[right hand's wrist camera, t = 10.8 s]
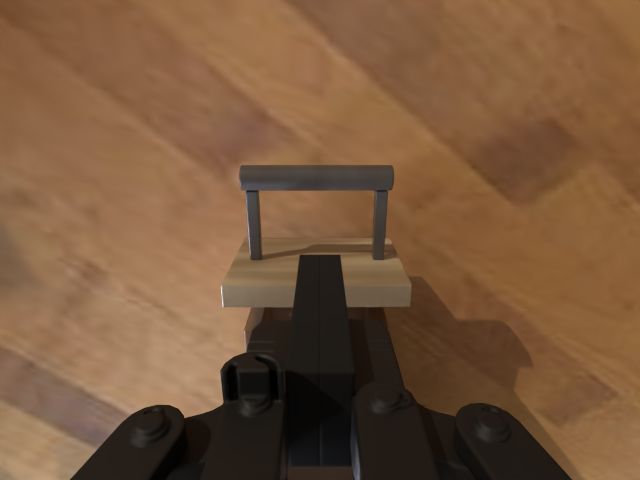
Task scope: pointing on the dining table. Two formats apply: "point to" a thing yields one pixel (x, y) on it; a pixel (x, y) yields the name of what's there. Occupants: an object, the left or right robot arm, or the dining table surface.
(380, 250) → the drawer
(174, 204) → the dining table surface
